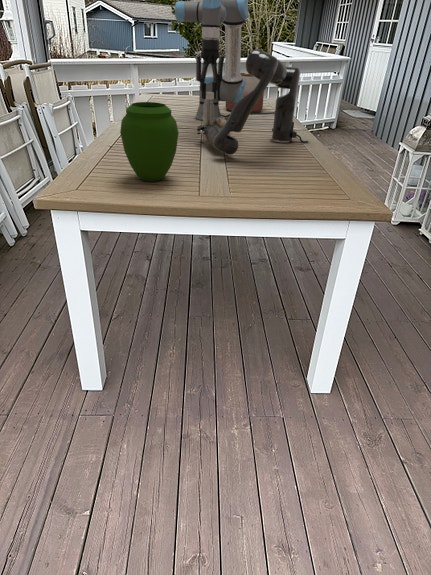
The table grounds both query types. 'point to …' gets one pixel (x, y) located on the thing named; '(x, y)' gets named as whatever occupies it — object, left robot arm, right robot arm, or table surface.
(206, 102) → the bottle
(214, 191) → the table surface
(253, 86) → the planter
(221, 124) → the seashell
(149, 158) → the vase
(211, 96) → the cap
